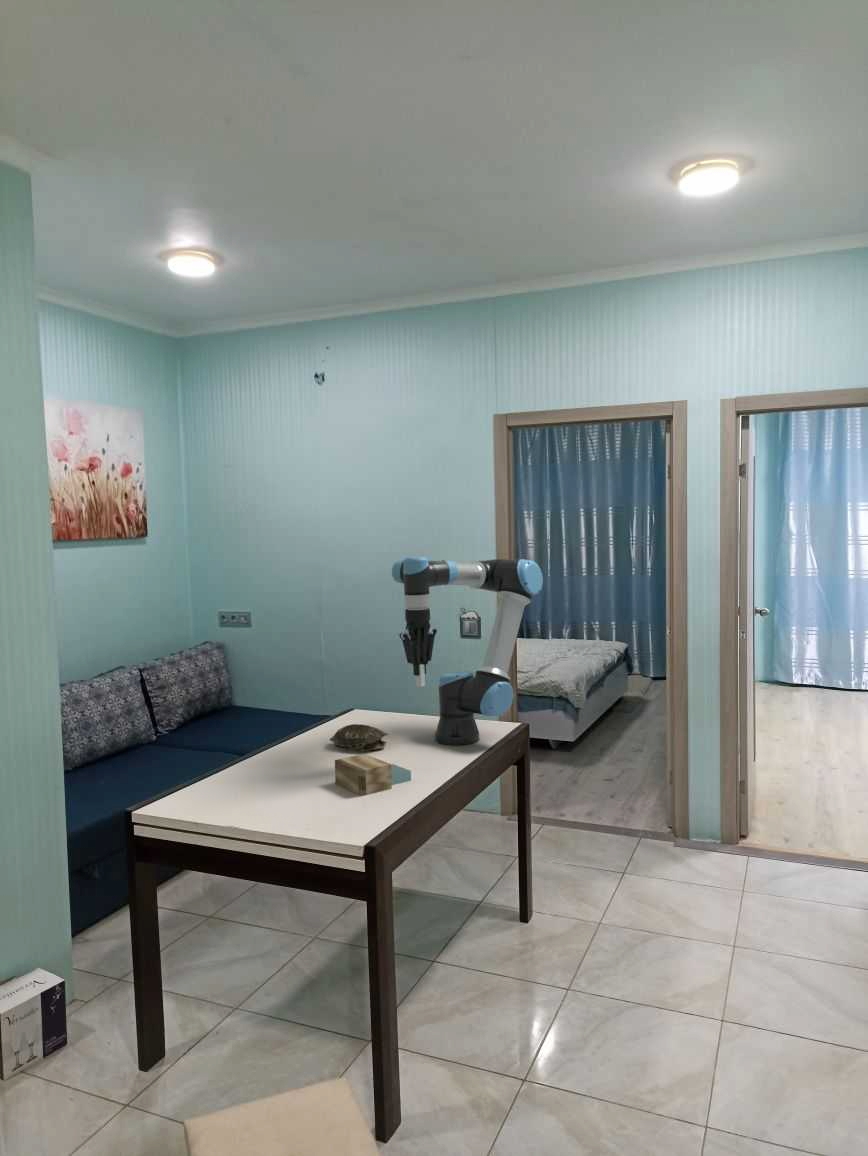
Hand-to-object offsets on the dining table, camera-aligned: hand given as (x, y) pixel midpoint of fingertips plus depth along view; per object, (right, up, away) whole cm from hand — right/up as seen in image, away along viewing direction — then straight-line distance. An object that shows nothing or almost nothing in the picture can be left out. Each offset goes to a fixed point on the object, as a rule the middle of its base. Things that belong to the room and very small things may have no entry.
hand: (420, 685), depth 261 cm
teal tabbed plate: (-11, -26, -12) cm, 31 cm away
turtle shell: (-21, -24, +27) cm, 42 cm away
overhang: (-16, -27, -16) cm, 35 cm away
